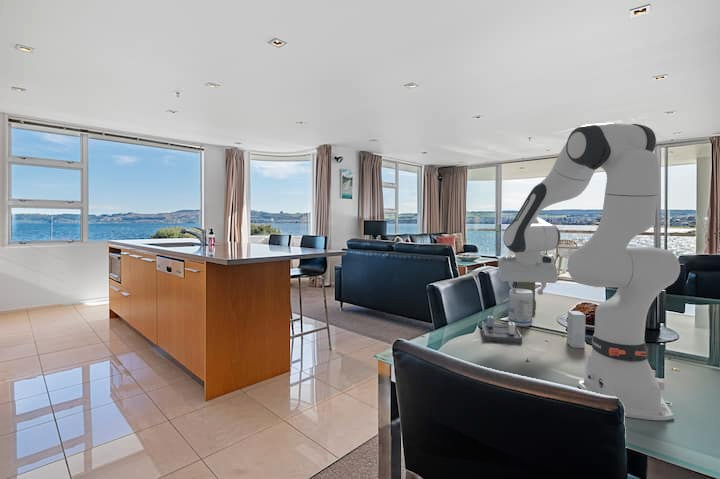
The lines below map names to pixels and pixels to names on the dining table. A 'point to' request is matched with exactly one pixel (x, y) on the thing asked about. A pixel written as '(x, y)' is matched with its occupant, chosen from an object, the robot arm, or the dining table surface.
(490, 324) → the fader slate
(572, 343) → the skincare box
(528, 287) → the green cactus
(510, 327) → the fader ivory
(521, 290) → the supplement tub
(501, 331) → the grey tray
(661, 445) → the dining table surface
